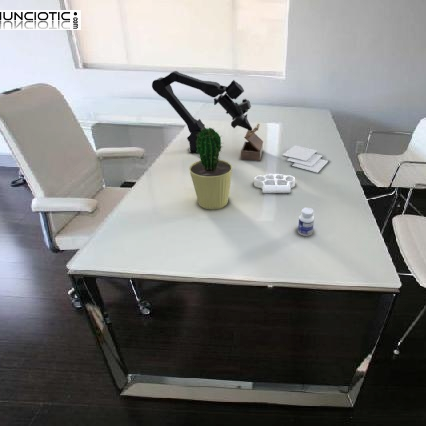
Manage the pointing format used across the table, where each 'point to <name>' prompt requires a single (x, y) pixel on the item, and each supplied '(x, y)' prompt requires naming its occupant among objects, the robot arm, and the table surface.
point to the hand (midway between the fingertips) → (251, 130)
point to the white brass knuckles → (274, 183)
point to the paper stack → (305, 158)
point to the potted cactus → (210, 172)
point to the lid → (254, 138)
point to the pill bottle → (306, 222)
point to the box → (250, 152)
